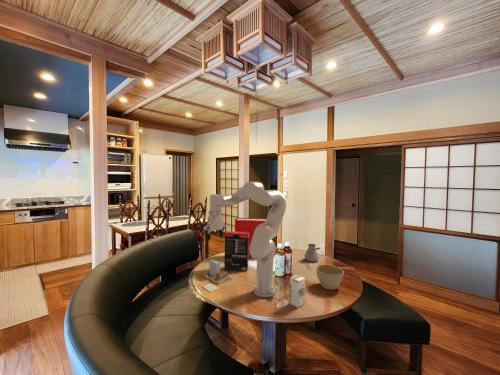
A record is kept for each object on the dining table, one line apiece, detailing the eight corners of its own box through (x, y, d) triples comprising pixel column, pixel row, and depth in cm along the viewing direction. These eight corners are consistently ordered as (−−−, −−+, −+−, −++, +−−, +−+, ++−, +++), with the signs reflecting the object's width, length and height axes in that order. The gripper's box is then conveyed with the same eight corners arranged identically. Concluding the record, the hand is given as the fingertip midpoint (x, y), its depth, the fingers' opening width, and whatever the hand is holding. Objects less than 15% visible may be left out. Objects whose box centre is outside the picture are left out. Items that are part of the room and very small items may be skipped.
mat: (218, 289, 137) (218, 288, 137) (210, 292, 133) (210, 291, 133) (210, 283, 144) (210, 283, 144) (201, 286, 140) (201, 286, 140)
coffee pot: (302, 258, 194) (302, 240, 193) (315, 257, 195) (315, 240, 195) (312, 267, 173) (313, 248, 172) (326, 267, 174) (327, 247, 174)
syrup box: (295, 300, 126) (296, 274, 126) (304, 304, 122) (305, 277, 122) (289, 303, 123) (289, 276, 122) (298, 308, 118) (299, 280, 118)
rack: (232, 279, 150) (232, 276, 150) (218, 284, 143) (218, 281, 143) (216, 271, 163) (216, 268, 163) (203, 275, 156) (203, 272, 156)
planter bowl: (325, 294, 133) (326, 275, 133) (310, 282, 149) (311, 265, 148) (349, 291, 138) (349, 273, 137) (332, 279, 153) (333, 263, 153)
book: (266, 255, 198) (267, 218, 197) (267, 258, 190) (267, 220, 189) (235, 254, 199) (235, 218, 198) (234, 258, 191) (234, 219, 190)
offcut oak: (228, 280, 151) (228, 276, 151) (218, 283, 145) (218, 279, 145) (224, 277, 154) (224, 274, 154) (214, 281, 148) (214, 277, 148)
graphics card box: (248, 267, 171) (249, 231, 169) (247, 271, 164) (248, 233, 163) (225, 266, 172) (226, 230, 171) (223, 270, 165) (224, 232, 164)
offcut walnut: (227, 276, 150) (227, 272, 150) (220, 279, 146) (220, 275, 145) (223, 274, 153) (223, 270, 153) (216, 277, 148) (216, 273, 148)
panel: (220, 277, 154) (220, 262, 153) (216, 278, 152) (216, 263, 151) (213, 273, 160) (213, 259, 159) (209, 274, 158) (209, 260, 157)
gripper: (207, 214, 145) (206, 241, 146) (229, 212, 157) (228, 237, 158) (200, 213, 151) (200, 239, 152) (222, 211, 163) (222, 235, 163)
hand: (214, 238), depth 155 cm, fingers open, 9 cm apart
